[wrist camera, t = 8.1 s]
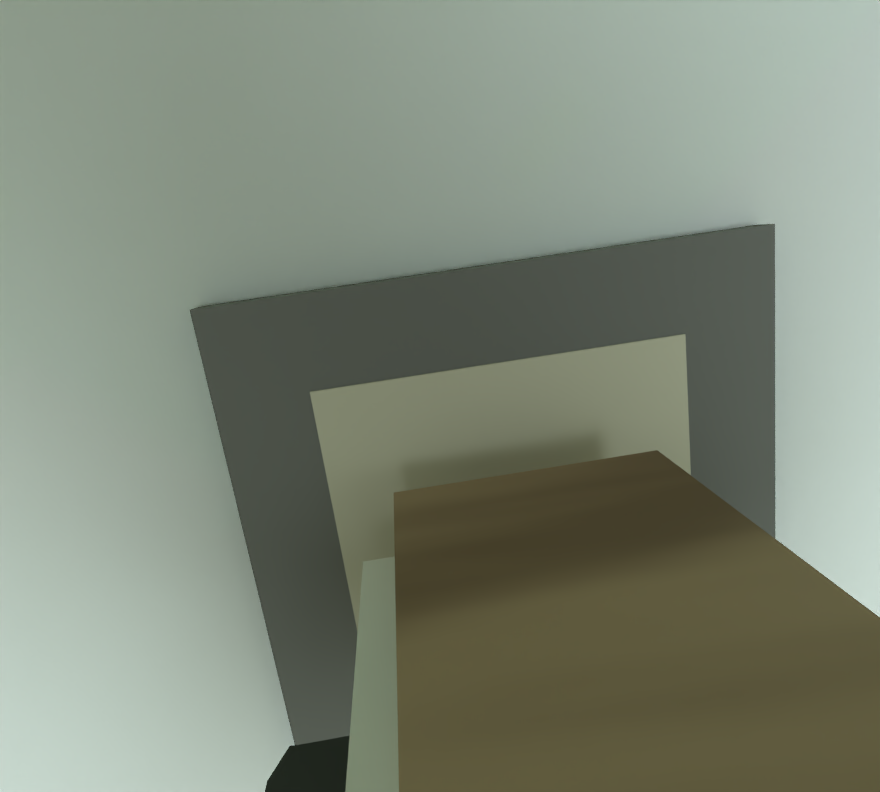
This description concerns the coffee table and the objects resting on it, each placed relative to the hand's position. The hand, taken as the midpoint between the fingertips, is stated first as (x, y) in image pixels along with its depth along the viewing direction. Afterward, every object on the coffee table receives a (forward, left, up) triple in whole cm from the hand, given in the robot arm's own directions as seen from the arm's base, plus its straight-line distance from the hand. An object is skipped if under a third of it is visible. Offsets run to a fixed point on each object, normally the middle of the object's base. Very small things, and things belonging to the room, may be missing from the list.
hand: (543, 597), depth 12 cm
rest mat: (0, 0, -3) cm, 3 cm away
